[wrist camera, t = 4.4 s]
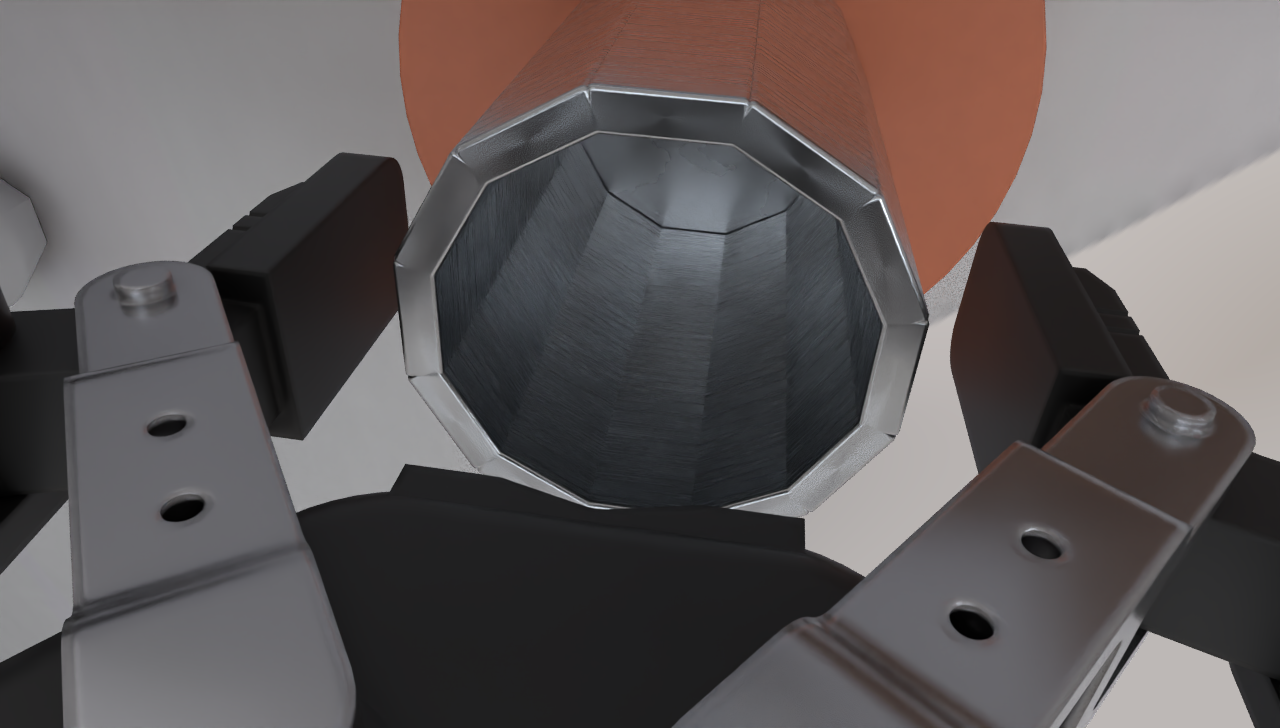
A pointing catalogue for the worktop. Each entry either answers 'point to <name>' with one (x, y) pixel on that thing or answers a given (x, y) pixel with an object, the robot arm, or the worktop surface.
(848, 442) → the steel cup
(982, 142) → the terracotta flower pot
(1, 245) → the salt shaker
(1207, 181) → the worktop surface
